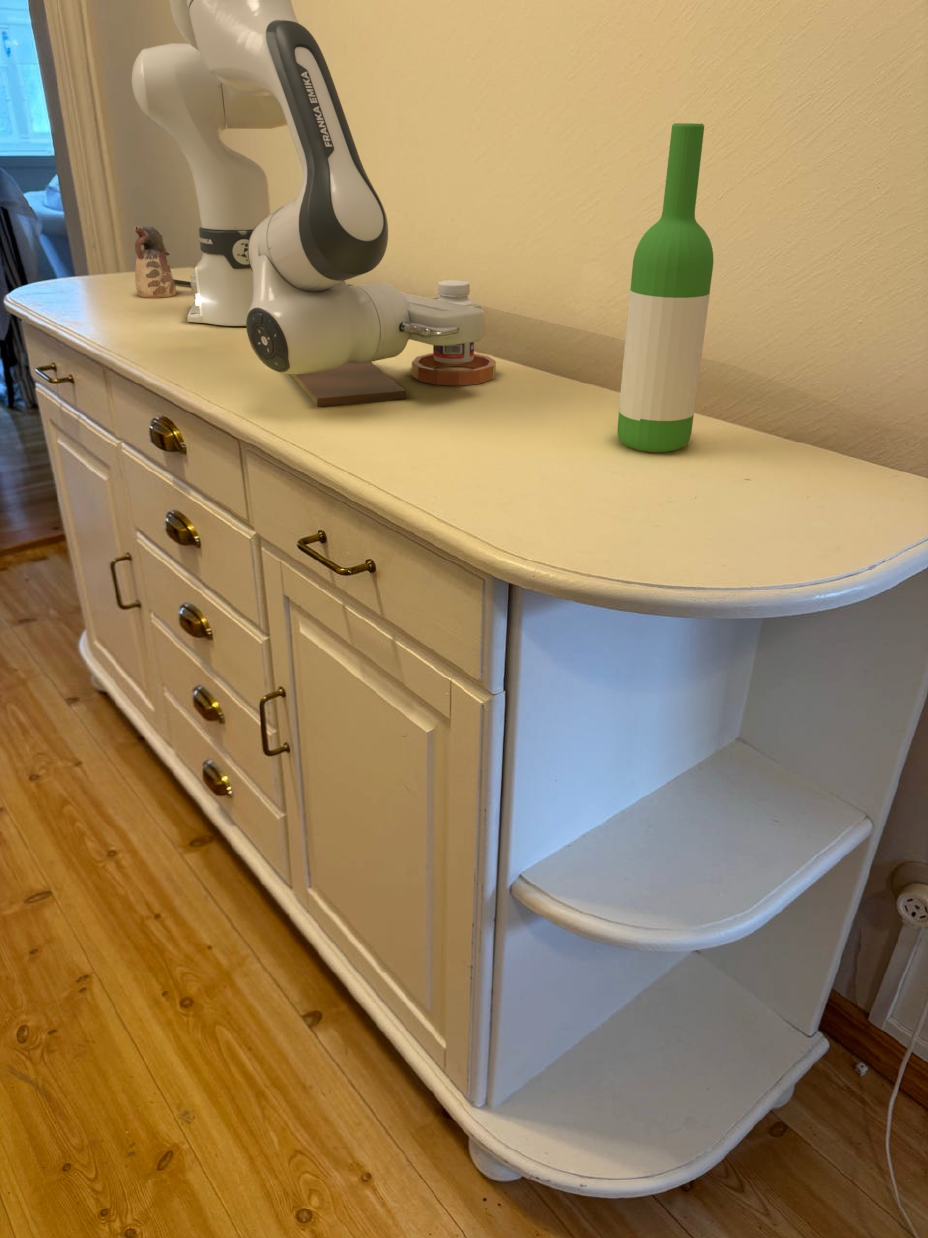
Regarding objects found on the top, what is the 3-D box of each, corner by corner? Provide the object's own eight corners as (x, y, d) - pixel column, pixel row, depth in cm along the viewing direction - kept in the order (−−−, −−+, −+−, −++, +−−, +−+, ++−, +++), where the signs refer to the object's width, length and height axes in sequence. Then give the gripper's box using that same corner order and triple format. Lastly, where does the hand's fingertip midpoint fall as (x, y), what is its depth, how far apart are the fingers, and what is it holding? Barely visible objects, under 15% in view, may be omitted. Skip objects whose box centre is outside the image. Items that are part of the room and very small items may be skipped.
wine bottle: (684, 459, 94) (727, 124, 79) (608, 449, 96) (637, 122, 82) (694, 437, 100) (736, 123, 86) (623, 429, 103) (653, 122, 88)
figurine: (184, 294, 173) (175, 225, 168) (150, 299, 169) (139, 228, 163) (164, 289, 178) (154, 222, 172) (130, 294, 173) (119, 225, 167)
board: (281, 364, 127) (280, 356, 127) (358, 358, 131) (358, 351, 130) (317, 406, 109) (316, 398, 109) (406, 398, 113) (406, 390, 112)
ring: (402, 368, 126) (402, 355, 125) (476, 362, 129) (477, 349, 128) (428, 388, 117) (428, 374, 116) (507, 381, 120) (507, 367, 119)
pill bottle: (453, 353, 125) (454, 277, 121) (482, 360, 122) (484, 282, 117) (424, 359, 122) (424, 281, 117) (452, 366, 119) (453, 287, 114)
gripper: (434, 307, 103) (518, 293, 112) (323, 283, 116) (406, 272, 124) (434, 364, 106) (516, 346, 115) (326, 334, 119) (407, 320, 127)
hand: (458, 307), depth 120 cm, fingers closed on pill bottle, 5 cm apart
